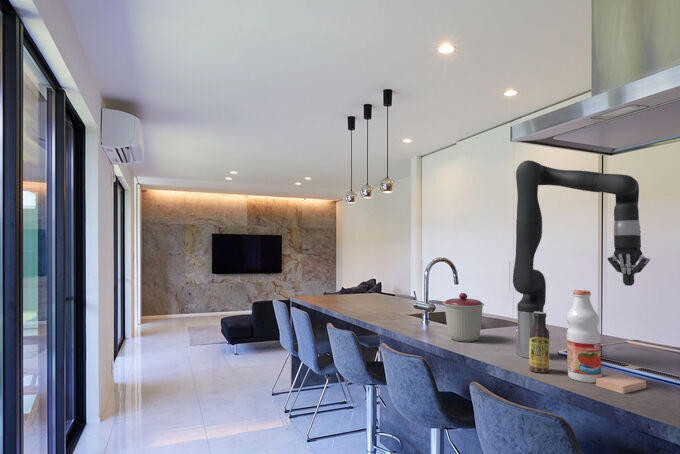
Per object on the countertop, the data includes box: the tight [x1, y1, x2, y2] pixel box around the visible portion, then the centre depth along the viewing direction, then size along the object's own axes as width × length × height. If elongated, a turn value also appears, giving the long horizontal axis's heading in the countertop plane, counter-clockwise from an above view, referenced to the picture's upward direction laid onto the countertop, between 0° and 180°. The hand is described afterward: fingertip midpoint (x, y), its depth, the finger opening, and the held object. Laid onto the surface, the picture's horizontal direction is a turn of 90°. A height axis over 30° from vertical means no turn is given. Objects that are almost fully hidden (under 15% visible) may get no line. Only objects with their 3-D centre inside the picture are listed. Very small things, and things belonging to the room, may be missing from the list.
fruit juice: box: [566, 289, 603, 384], centre depth 136 cm, size 9×9×28 cm
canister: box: [442, 292, 485, 343], centre depth 193 cm, size 18×18×21 cm
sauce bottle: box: [528, 311, 550, 374], centre depth 144 cm, size 7×6×20 cm
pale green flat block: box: [595, 373, 647, 394], centre depth 128 cm, size 8×2×11 cm
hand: (628, 285), depth 143 cm, fingers closed
